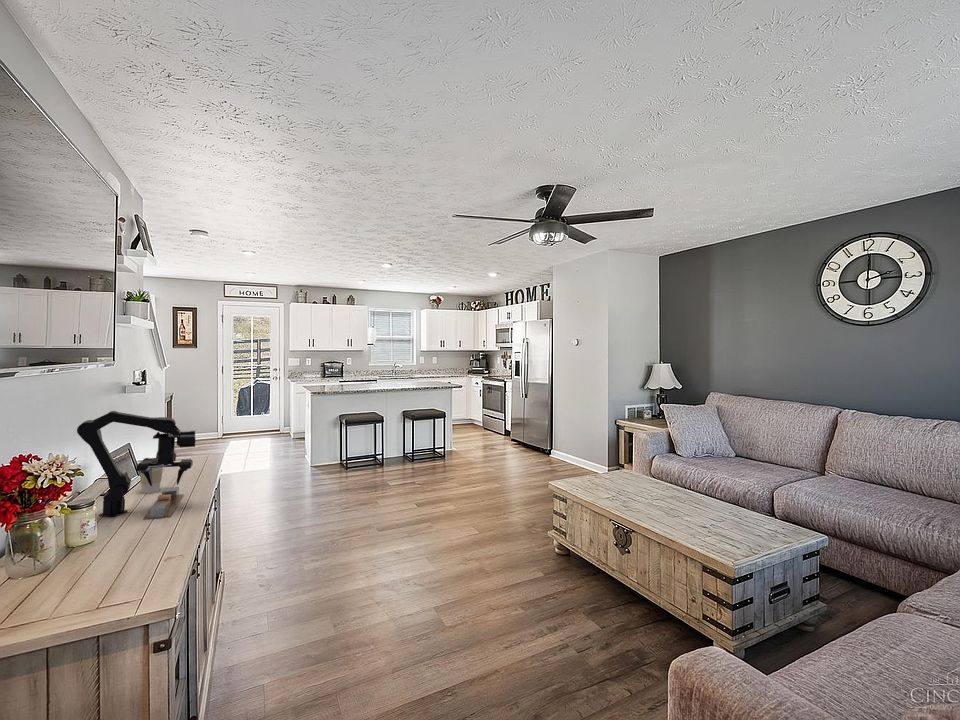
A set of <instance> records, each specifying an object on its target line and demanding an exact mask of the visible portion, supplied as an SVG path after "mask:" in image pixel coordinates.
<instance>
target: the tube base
mask: <svg viewBox="0 0 960 720" xmlns="http://www.w3.org/2000/svg"><path fill="white" fill-rule="evenodd" d="M167 494H171V505H170V506H169V503H170V500H167V501H158V498H157V499H156V500H155V502H154V504H153V505H152V506H151V507H150V509H149V510H148V511H147V513H146V514H145V515H144V517H143V520H151V519H152V520H153V519H164V518H166V517H167V518H171V517H172V515H173V514H174V512H175V511H176V509H177V507H178V506H179V504H180V502H181V500H182V499H183V497H184V496H185V495H184V493H181V494H180V486H171V487H170V486H169V487H164V488H163V490H162V491H161V495H167Z"/></svg>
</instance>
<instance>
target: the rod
mask: <svg viewBox="0 0 960 720" xmlns="http://www.w3.org/2000/svg"><path fill="white" fill-rule="evenodd" d="M157 499H158V501H167V500H170V503H169V506H170V505H171V494H167V495H162V494H159V495H158V497H157Z"/></svg>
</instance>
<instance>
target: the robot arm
mask: <svg viewBox="0 0 960 720" xmlns="http://www.w3.org/2000/svg"><path fill="white" fill-rule="evenodd" d="M112 423H118V424H125V425H132V426H137V427H144V428H149V429H151V430H153V431H156V433H155V434H153V436H152V439H154V440H156V439H158V443H157V451H156V456H155V458H156V459H157V463H152V462H151V461H143V460H141V461H140V462H138V463H137V465H136V471H137V472H139V474H140V473H143V474H144V475H145V477H146V478H147V480H148V482H149V484H150V486H152V468H157V467H162V468H173V467H174V468H175V467H176V468H177V467H179V469H178V472H177V479H176V485H177V486H178V485H179V483H180V481H181V478H182V476H183V474H184V472H186V471H188V470H189V469H191V468H192V467H193V462H194V461H193V459H191V458H190V459H189V458H188V459H181V460H180V461H177V453H176V452H175V449H176V447H175V446H178V447H179V448H181V449H182V448H195V447H196V431H195V430H190V431H187V430H186V431H181V430H180V428H178V426H177V425H176V424H177V423H176V420H175V419H174V418H173V417H168V416H167V417H164V416H163V417H160V416H159V417H149V416H145V415H137V414H133V413H127V412H126V413H125V412H119V411H116V410H111V411H109V412H107V413H105V414H104V415H101V416H98V417H97V418H95V419H88V420H84V421H83V422H81V424H79V425H78V427H77V429H76V433H77V435H78V436H79V437H80V438H81V440H83V442H85V443H86V444H88V446H89V447H90V448H91V450H92V452H93V454H94V455H95V457H96V459H97V461H98V463H99V464H100V466H101V468H102V470H103V471H104V474H105V475H106V477H107V482H108V483H107V484H108V487H109V489H107V491H106V492H105V494H104V496H103V497H102V499H103V503H102V512H101V513H99V515H98V516H100V517H109V518H114V517H118V516H120V515H122V514H125V513H127V512H128V509H125V502H126V500H125V495H126V494H127V493H128V492H129V490H130V489H131V482H132V479H131V478H130V477H129V473H128V472H127V471H125V472H124V473H123V472H121V471H120V469H119V468H118V465H117V463H116V462H115V460H114V458H113V456H112V455H111V453H110V451H109V449H108V447H107V446H106V444H105V442H104V441H103V435H102V431H101V429H102V428H104V427H106V426H108V425H110V424H112ZM175 444H176V445H175Z"/></svg>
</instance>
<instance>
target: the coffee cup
mask: <svg viewBox="0 0 960 720" xmlns="http://www.w3.org/2000/svg"><path fill="white" fill-rule="evenodd" d="M142 461H151V462H152V463H157V459H156V457H145V458H143V459H142ZM163 470H164V467H157V468H152V486H150V484H149V482H148V480H147V478H146V477H145V475H144V474H143V473H140V472H139V477H140V489H141V490H140V492H141V493H142V494H153V493H158V492H159V491H160V488H161V482H162V476H163Z"/></svg>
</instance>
